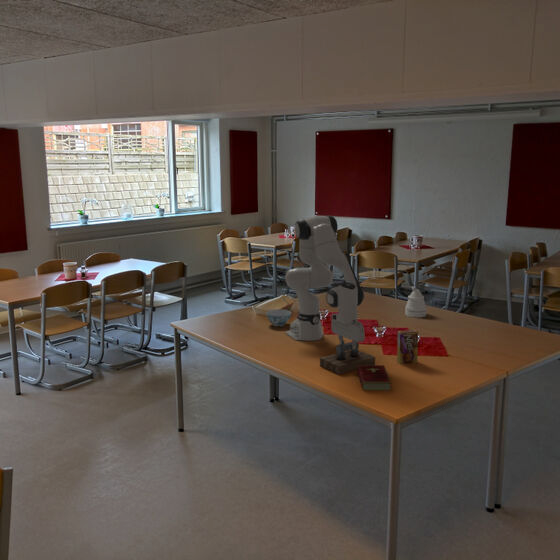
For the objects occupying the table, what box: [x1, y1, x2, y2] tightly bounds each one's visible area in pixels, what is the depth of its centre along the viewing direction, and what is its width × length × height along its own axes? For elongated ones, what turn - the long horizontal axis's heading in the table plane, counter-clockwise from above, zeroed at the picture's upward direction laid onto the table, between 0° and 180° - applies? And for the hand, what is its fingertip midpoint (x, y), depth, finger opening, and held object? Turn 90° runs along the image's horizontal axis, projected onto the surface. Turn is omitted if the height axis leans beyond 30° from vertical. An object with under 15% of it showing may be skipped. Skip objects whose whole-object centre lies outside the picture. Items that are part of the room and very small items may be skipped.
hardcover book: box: [357, 364, 392, 391], centre depth 244 cm, size 12×21×4 cm, turn 178°
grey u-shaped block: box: [335, 341, 360, 361], centre depth 264 cm, size 3×11×10 cm, turn 123°
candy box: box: [396, 329, 419, 365], centre depth 266 cm, size 9×4×15 cm, turn 96°
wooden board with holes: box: [319, 349, 376, 375], centre depth 264 cm, size 14×22×4 cm, turn 123°
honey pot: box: [404, 286, 427, 318], centre depth 352 cm, size 13×13×18 cm
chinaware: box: [265, 309, 292, 327], centre depth 334 cm, size 15×15×8 cm
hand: (347, 346), depth 263 cm, fingers open, 7 cm apart
